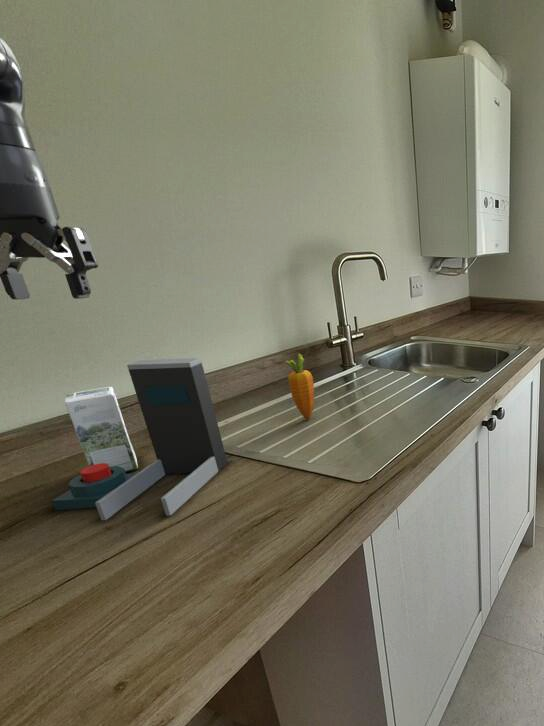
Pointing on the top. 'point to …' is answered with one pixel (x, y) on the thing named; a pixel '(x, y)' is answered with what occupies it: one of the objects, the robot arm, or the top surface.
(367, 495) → the top surface
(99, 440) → the syrup box
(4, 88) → the robot arm
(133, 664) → the top surface
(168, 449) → the grey panel on legs
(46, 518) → the top surface
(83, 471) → the stop button
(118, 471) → the control block
